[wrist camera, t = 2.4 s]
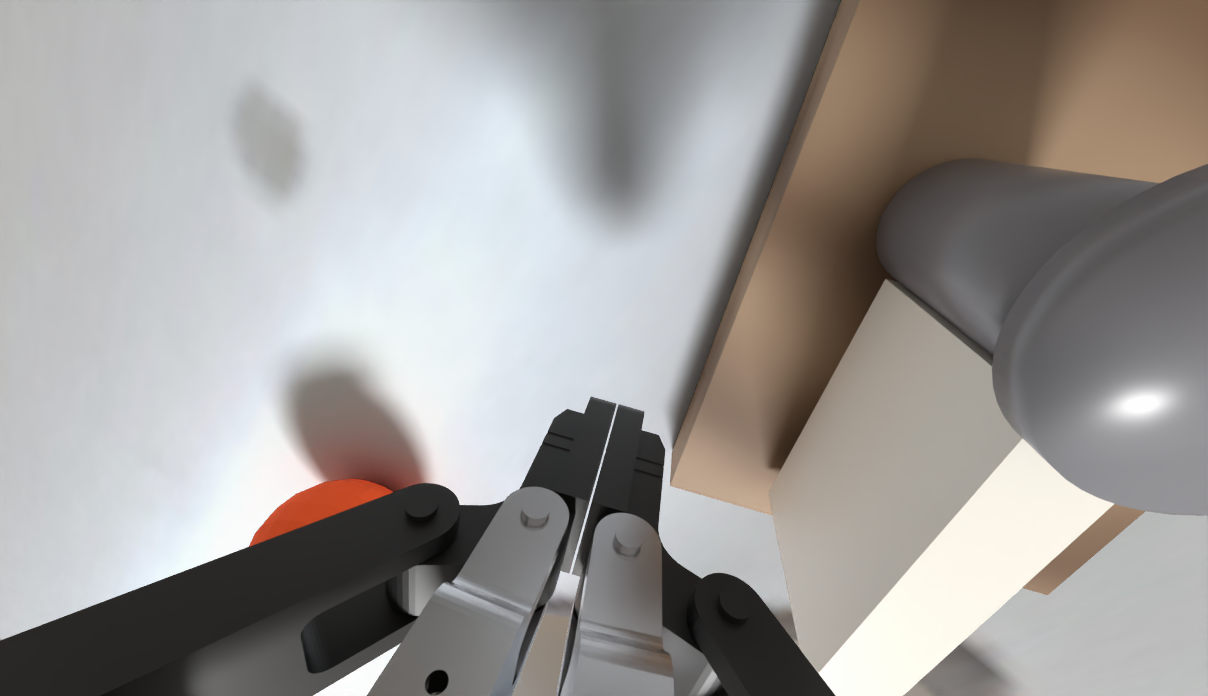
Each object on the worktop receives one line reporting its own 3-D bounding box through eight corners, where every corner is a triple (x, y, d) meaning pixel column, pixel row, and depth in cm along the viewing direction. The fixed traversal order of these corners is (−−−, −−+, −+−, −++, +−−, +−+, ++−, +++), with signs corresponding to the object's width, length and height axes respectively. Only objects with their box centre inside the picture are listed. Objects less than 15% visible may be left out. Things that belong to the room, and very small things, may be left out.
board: (947, -284, 9) (1017, -394, 7) (1716, -147, 8) (2031, -228, 6) (672, 451, 19) (669, 489, 17) (1012, 548, 18) (1051, 600, 16)
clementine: (356, 411, 21) (213, 536, 15) (478, 493, 22) (393, 643, 16) (306, 496, 24) (174, 625, 18) (412, 563, 26) (322, 707, 19)
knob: (906, 108, 10) (1245, 92, 4) (1104, 155, 10) (1808, 215, 4) (730, 476, 16) (755, 709, 10) (854, 511, 15) (963, 775, 9)
